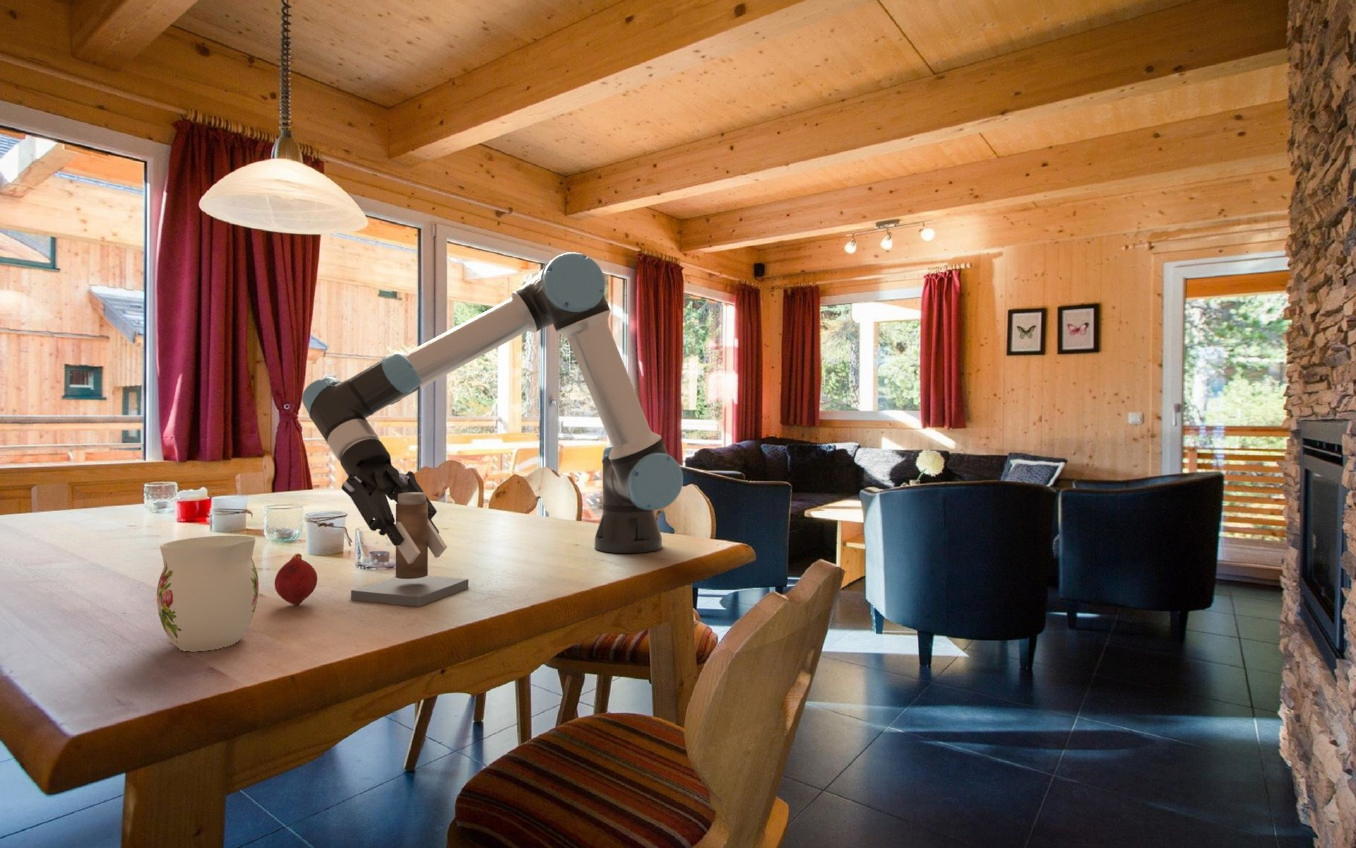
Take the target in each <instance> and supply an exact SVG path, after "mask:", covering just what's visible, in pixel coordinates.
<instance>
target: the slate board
mask: <svg viewBox="0 0 1356 848" xmlns="http://www.w3.org/2000/svg"><path fill="white" fill-rule="evenodd" d="M466 589H469V579H468V578H459V577H448V576H438V575H437V576H436V575H427V576H425V577H422V578H416V579H399V578H396V576H393V577H389V578H387V579H386V578H385V579H383V580H380V581H376V582H372V583H370V584H367V585H364V586H361V587H356V588H354V589H351V590H350V600H351V601H361V602H369V603H370V602H371V603H380V604H381V603H382V604H387V605H388V604H390V605H398V606H409V607H418V608H420V607H422V606H425V605H427V604H430V603H432V602H433V603H434V602H435V601H437V600H440V599H443V598H446V597H448V596H451V595H454V594H456V593H459V592H462V591H464V590H466Z"/></svg>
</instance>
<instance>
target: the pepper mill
mask: <svg viewBox="0 0 1356 848" xmlns="http://www.w3.org/2000/svg"><path fill="white" fill-rule="evenodd" d="M426 496H427V493H426V492H424V493H421V492H411V493H400V494H398V503H396V502H395V524H396V523H397V522H401V523H402V525H403V526H404V528H405V529H406V531H407V532H408V534H409V536H410V537H411V539H412V540H413V542H414V543H415V545H416V546H417V548H418V549H419V551H420V552H421V553H420V554H419V555H418V556H417V558H416V559H415V560H414V561H413V563H411V564H408V563H407V561H406V560H405V558H404V556H403V555H402V553H401V552H400V550H399V549H398V547H397V546H395V577H396V578H399V579H416V578H422V577H425V576H429V573H428V572H429V569H428V568H429V556H428V554H429V547H428V503H427V502H426Z"/></svg>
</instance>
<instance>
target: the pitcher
mask: <svg viewBox="0 0 1356 848" xmlns="http://www.w3.org/2000/svg"><path fill="white" fill-rule="evenodd" d="M256 540H257V539H256V537H254V536H248V535H214V536H212V535H211V536H201V537H199V536H198V537H190V538H185V539H184V538H183V539H177V540H172V541H168V542H165V543H162V544H161V545H160V546H159V548H160V549H159V550H160V553H161V557H162V561H163V568H162V570H161V571H162V572H161V574H160V577H159V580H158V583H157V588H156V589H157V590H156V603H157V611H158V616H159V620H160V623H161V625H162V627H163V630H164V632H165V633H166V636H167V637H168V639H169V640H170V642H171V643H172V644H173V645H174V646H175V647H177V649H178V648H179V649H180V650H179V649H178V650H179V651H181V650H185V651H191V652H190V653H198V652H197V651H204V652H206V651H205V650H211V651H215V650H214V649H217V650H219V649H218V648H221V647H225V648H227V647H226V646H228V647H230V646H229V645H231V646H233V644H234V645H235V643H236V642H237V643H239V642H240V639H241V638H242V637H243V635H244V634H245V633H246V632H247V630H248V628H249V627H250V625H251V622H252V620H253V617H254V614H255V611H256V607H257V604H258V596H259V591H260V590H259V586H260V585H259V583H260V582H259V575H258V571H257V568H256V566H255V565H256V564H255V562H254V560H253V553H254V548H255V544H256ZM238 641H239V642H238ZM237 643H236V644H237ZM221 649H222V648H221ZM185 651H184V652H185ZM192 651H193V652H192ZM195 651H196V652H195Z"/></svg>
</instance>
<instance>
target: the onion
mask: <svg viewBox="0 0 1356 848" xmlns="http://www.w3.org/2000/svg"><path fill="white" fill-rule="evenodd" d="M302 556H303V555H302V554H301V553H295V554H294V555H293V556H292V557H291V559H289V561H286V563H284V564H283V565H282V567H280V569H279V570H278V571H277V573H276V576H275V578H274V582H273V583H274V589H275V591H276V593H277V595H278V596H279V597H280V598H282V600H284V601H285V602H286V603H289V604H291V605H293V606H299V605H300V604H302V603H303V602H304V601H305V600H306V599H307V598H308V597H309V596H310V595H312V594H313V592H314V591H315V589H316V587H317V584H318V574H317V572H316V571H317V570H315V568H314V567H313V566H312V565H311V563H309V562H307V561H306V560H303V557H302Z"/></svg>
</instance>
